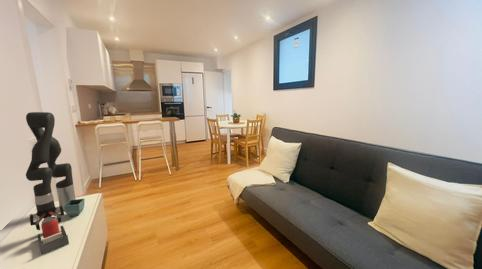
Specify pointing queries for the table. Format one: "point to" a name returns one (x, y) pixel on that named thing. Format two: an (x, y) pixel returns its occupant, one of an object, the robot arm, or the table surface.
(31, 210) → the table surface
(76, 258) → the table surface
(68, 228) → the table surface
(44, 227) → the beer can
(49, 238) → the pusher
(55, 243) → the lane
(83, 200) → the flower pot
